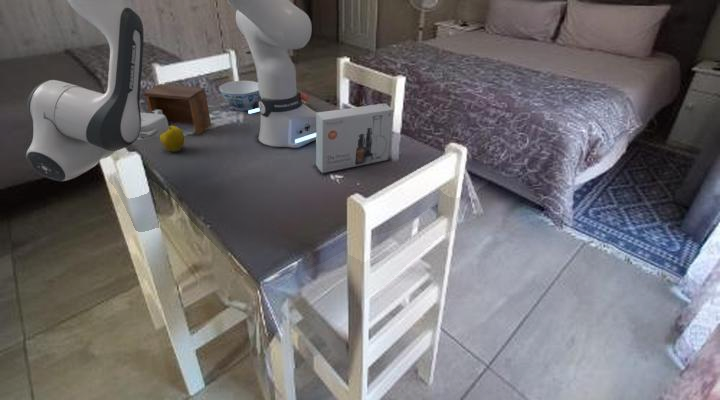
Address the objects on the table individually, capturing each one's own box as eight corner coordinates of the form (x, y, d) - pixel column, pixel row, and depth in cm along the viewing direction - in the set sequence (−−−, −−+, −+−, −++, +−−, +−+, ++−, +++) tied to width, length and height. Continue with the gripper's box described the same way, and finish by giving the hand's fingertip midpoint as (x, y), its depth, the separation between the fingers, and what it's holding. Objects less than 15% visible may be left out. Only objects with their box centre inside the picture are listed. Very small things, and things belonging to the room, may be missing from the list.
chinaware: (272, 106, 148) (271, 85, 144) (243, 118, 137) (240, 96, 133) (243, 98, 154) (241, 78, 150) (213, 108, 143) (209, 87, 139)
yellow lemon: (175, 157, 111) (169, 130, 107) (158, 152, 113) (151, 126, 109) (192, 148, 116) (186, 122, 112) (175, 144, 118) (169, 118, 114)
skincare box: (323, 174, 106) (322, 119, 97) (315, 166, 110) (314, 111, 101) (389, 160, 115) (394, 108, 106) (380, 152, 119) (384, 101, 110)
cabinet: (169, 120, 133) (160, 83, 126) (211, 124, 131) (204, 87, 125) (153, 131, 125) (142, 92, 118) (197, 135, 124) (189, 97, 117)
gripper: (143, 124, 83) (178, 101, 94) (55, 115, 85) (100, 94, 96) (151, 151, 86) (184, 126, 98) (66, 142, 88) (108, 119, 100)
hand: (142, 110), depth 97 cm, fingers open, 8 cm apart
